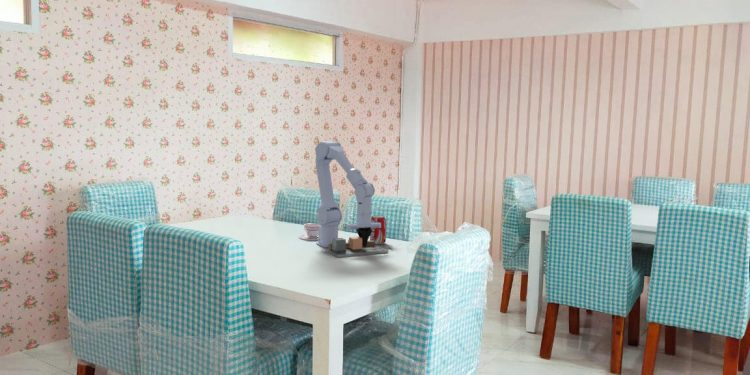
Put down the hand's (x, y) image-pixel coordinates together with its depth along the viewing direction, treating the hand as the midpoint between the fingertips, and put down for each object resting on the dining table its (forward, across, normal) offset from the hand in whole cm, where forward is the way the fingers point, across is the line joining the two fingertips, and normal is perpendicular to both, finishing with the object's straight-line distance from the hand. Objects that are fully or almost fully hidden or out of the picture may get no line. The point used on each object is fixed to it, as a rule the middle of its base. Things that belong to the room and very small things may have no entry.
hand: (363, 246), depth 259 cm
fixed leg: (+1, -11, +1) cm, 11 cm away
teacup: (+3, -8, +36) cm, 37 cm away
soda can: (+2, +13, +13) cm, 19 cm away
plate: (+2, -3, 0) cm, 4 cm away
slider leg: (+1, -4, +1) cm, 4 cm away
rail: (+2, -3, +5) cm, 6 cm away
